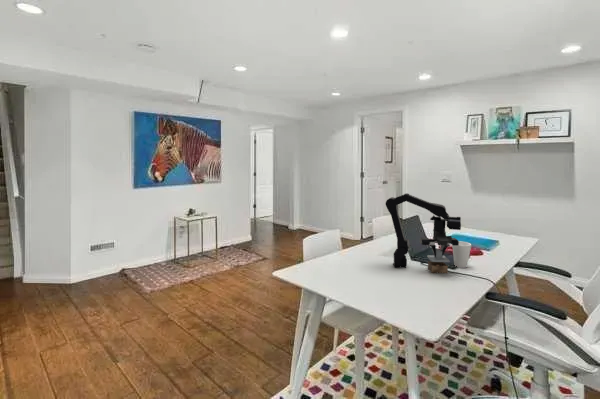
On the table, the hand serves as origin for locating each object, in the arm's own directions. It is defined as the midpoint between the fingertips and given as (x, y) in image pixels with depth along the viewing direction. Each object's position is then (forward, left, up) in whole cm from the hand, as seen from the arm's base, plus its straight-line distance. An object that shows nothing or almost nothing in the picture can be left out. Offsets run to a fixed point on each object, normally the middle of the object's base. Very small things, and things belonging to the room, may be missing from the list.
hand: (438, 256), depth 180 cm
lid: (0, 0, -1) cm, 1 cm away
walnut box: (0, 0, -8) cm, 8 cm away
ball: (0, 0, -6) cm, 6 cm away
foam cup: (+15, +9, -8) cm, 19 cm away
